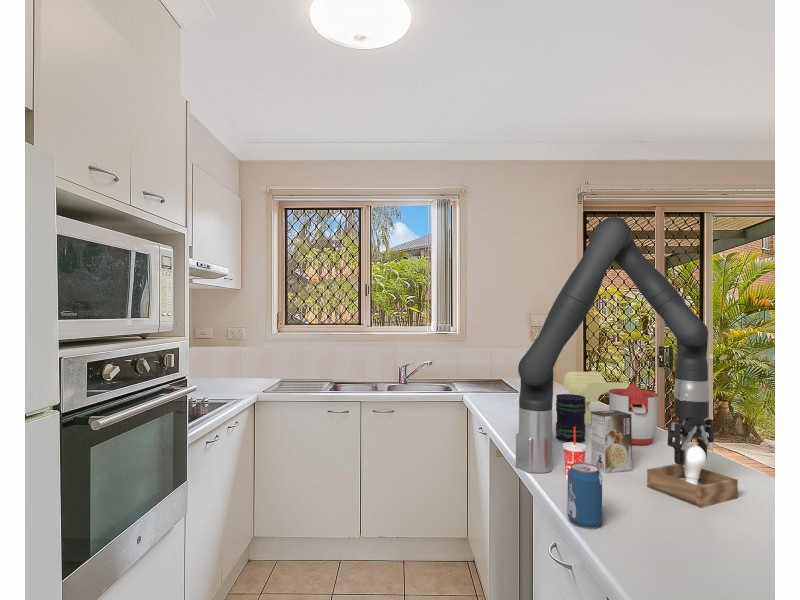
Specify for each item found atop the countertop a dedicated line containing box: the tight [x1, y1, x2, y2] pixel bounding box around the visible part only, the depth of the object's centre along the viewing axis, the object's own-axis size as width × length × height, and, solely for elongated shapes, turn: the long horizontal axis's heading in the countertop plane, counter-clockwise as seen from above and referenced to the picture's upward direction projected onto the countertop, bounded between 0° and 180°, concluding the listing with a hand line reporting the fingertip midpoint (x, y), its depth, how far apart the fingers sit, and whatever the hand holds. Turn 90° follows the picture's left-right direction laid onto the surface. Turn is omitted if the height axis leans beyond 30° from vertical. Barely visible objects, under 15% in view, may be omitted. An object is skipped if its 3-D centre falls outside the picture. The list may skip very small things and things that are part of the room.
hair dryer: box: [563, 371, 630, 425], centre depth 198 cm, size 30×16×18 cm, turn 176°
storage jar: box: [555, 393, 586, 444], centre depth 168 cm, size 10×10×15 cm
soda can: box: [566, 462, 603, 530], centre depth 103 cm, size 7×7×12 cm
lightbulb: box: [683, 443, 707, 486], centre depth 121 cm, size 6×6×11 cm
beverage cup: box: [562, 426, 587, 481], centre depth 129 cm, size 6×6×14 cm
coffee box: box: [590, 410, 633, 474], centre depth 138 cm, size 9×6×16 cm
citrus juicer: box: [608, 383, 659, 446], centre depth 166 cm, size 16×17×20 cm
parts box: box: [646, 463, 739, 508], centre depth 121 cm, size 14×14×4 cm
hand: (690, 462), depth 121 cm, fingers open, 8 cm apart
